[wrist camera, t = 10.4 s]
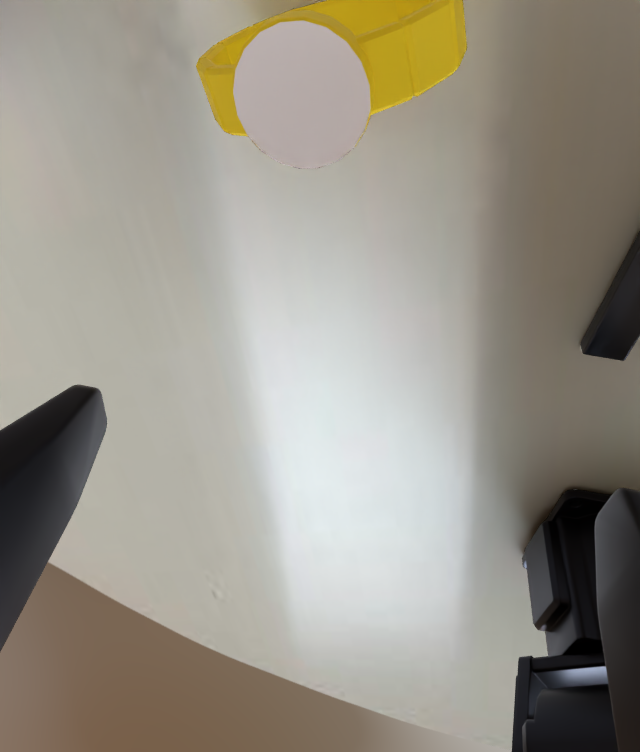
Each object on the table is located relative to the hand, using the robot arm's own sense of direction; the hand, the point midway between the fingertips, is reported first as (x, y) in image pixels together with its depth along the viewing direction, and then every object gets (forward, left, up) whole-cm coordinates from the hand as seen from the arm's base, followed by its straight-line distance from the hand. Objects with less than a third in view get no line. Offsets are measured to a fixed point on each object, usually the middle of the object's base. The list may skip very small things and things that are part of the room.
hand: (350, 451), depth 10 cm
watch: (+2, -4, -11) cm, 12 cm away
